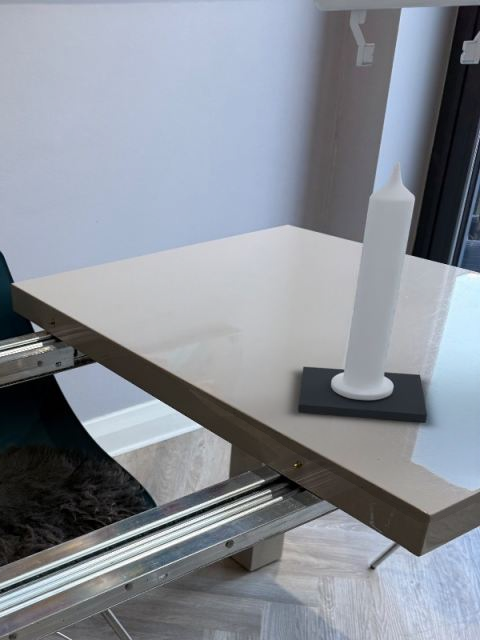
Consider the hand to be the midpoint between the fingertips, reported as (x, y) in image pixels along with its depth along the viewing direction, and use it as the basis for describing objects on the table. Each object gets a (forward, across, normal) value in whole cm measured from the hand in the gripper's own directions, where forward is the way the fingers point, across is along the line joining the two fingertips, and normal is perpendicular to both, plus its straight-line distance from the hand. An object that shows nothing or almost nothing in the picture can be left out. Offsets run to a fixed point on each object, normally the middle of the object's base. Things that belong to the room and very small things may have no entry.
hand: (415, 64), depth 75 cm
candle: (+34, 0, 0) cm, 34 cm away
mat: (+35, 0, 0) cm, 35 cm away
